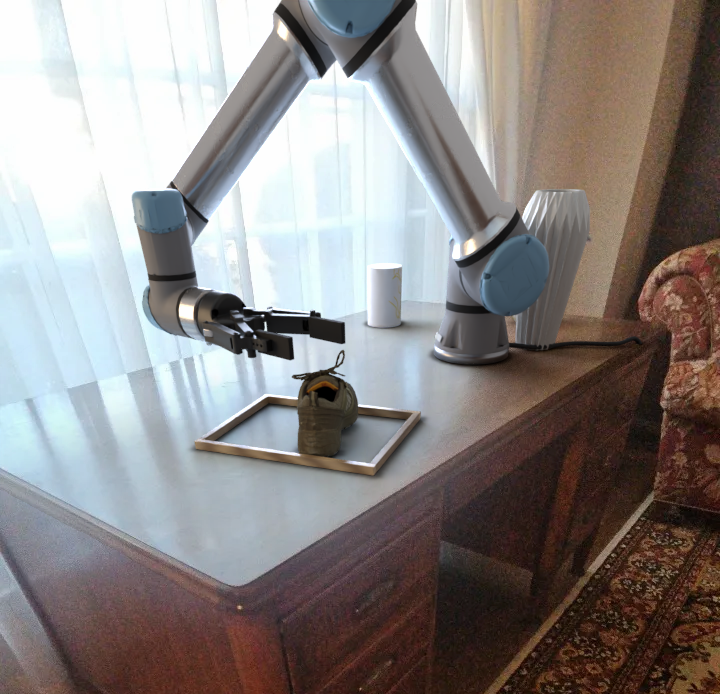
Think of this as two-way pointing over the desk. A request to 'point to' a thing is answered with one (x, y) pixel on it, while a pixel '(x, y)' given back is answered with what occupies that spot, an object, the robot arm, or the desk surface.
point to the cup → (384, 294)
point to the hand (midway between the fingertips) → (318, 340)
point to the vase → (554, 259)
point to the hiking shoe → (324, 411)
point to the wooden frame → (371, 468)
